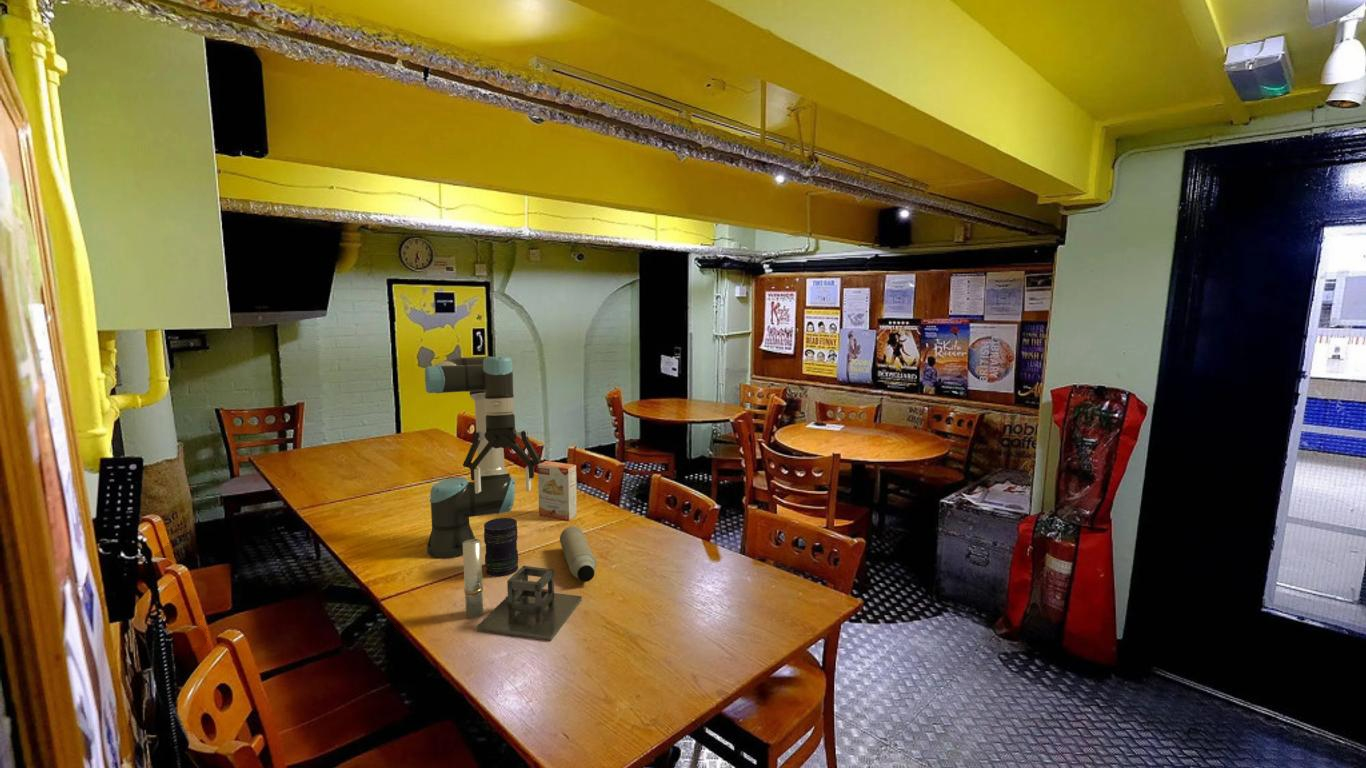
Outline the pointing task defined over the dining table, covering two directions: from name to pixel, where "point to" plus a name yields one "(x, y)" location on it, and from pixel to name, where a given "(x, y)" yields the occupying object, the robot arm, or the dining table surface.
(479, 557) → the steel tube
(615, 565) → the dining table surface
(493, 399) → the robot arm
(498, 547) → the storage jar
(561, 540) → the thermos bottle
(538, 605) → the collar stand
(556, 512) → the cracker box
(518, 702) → the dining table surface
